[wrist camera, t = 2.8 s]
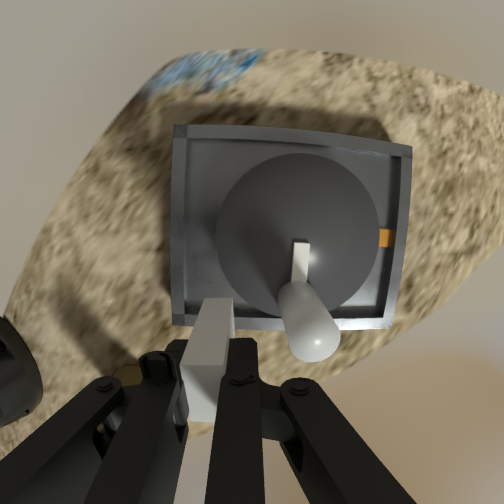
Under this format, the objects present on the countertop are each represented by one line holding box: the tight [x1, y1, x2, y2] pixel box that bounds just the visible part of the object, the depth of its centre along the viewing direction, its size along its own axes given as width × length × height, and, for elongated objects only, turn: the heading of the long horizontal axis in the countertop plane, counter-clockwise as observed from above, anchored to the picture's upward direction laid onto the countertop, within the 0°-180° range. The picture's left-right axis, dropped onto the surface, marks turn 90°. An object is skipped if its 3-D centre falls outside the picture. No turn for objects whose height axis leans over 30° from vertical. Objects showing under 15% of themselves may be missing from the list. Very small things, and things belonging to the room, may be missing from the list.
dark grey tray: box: [170, 125, 412, 330], centre depth 23 cm, size 18×15×3 cm
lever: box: [215, 153, 380, 362], centre depth 18 cm, size 11×11×9 cm
